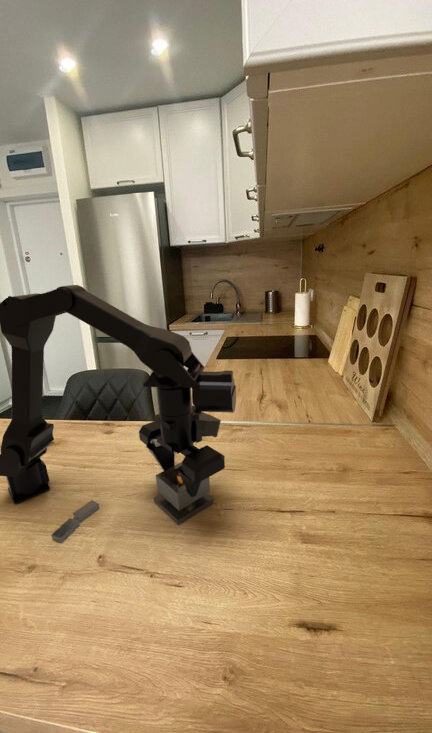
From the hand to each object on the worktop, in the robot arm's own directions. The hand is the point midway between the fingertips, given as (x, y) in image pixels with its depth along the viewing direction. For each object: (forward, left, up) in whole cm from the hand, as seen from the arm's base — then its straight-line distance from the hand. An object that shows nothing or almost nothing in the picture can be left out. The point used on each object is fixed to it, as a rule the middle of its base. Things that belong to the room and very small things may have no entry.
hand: (182, 486), depth 61 cm
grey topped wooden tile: (-15, +10, -4) cm, 18 cm away
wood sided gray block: (-19, +8, -4) cm, 21 cm away
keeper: (0, 0, -4) cm, 4 cm away
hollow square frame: (0, 0, -1) cm, 1 cm away
